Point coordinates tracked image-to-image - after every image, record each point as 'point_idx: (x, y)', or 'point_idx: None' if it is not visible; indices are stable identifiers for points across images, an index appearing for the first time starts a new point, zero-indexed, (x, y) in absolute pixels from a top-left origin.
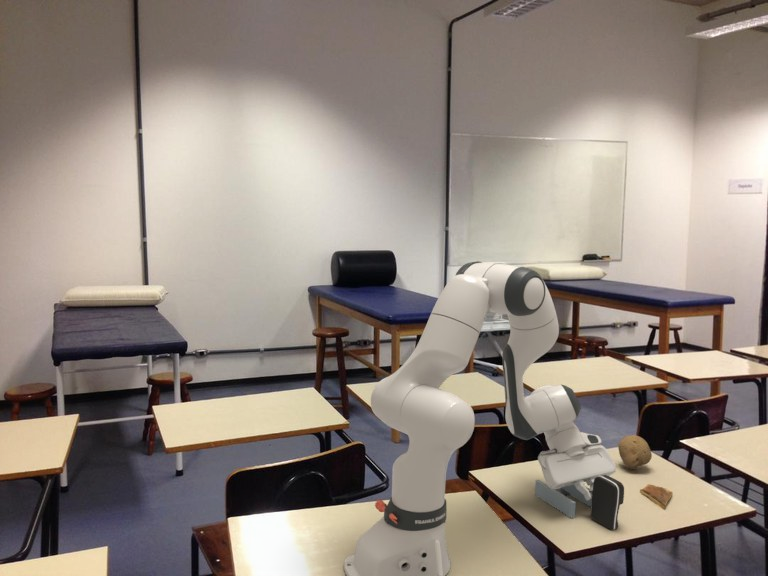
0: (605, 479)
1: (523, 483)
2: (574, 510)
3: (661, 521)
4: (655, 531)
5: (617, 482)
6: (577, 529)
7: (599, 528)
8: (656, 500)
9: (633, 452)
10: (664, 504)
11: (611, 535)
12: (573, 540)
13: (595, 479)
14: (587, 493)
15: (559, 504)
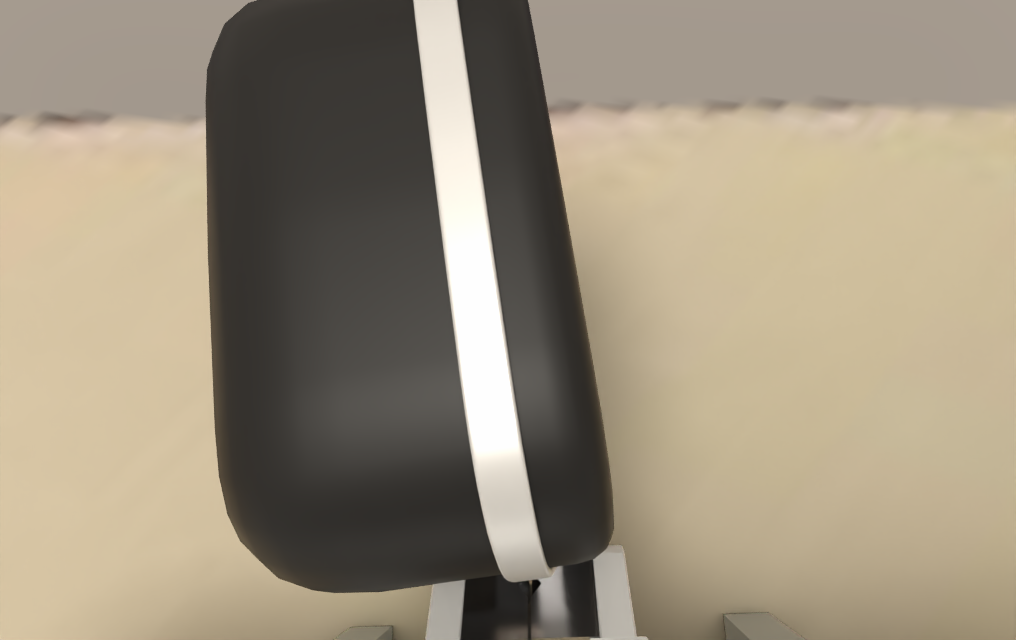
0: (506, 204)
1: None
2: (755, 633)
3: (9, 252)
4: (197, 139)
5: (320, 22)
6: (845, 398)
7: (619, 339)
8: None
9: None
10: None
11: (600, 203)
12: (1009, 243)
13: (608, 492)
14: (631, 619)
15: None
